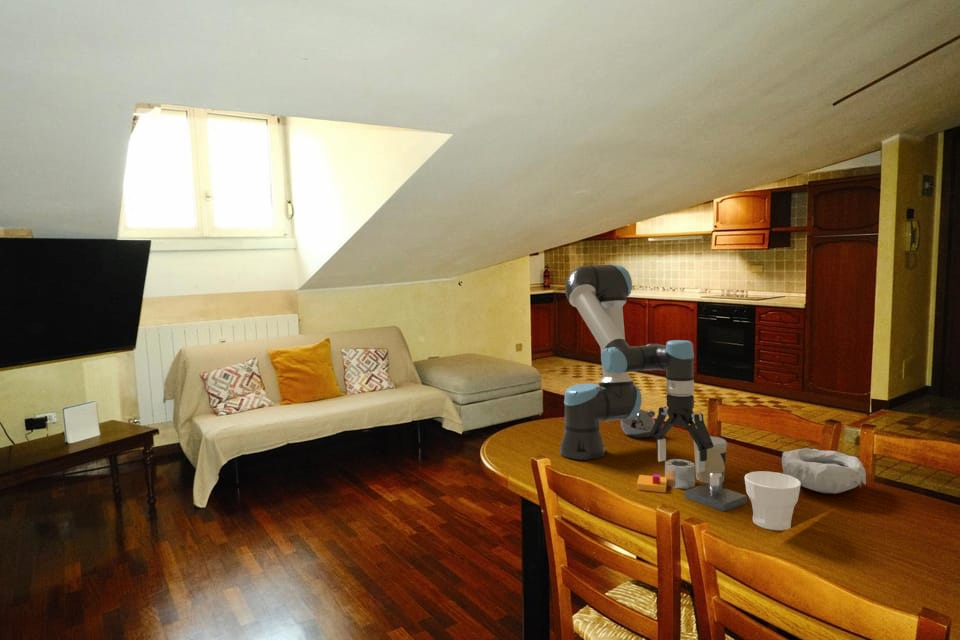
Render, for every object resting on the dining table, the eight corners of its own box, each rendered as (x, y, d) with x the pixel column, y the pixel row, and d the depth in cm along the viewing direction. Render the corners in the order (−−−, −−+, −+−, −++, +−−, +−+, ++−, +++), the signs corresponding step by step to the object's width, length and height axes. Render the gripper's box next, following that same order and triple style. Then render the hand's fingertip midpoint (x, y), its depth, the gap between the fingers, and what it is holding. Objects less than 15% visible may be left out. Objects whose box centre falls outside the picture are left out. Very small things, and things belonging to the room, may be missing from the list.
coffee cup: (729, 485, 173) (730, 444, 172) (695, 484, 175) (696, 443, 174) (723, 475, 182) (723, 436, 181) (691, 473, 184) (691, 435, 183)
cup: (774, 538, 138) (775, 491, 138) (732, 518, 150) (733, 475, 149) (812, 528, 143) (813, 483, 143) (768, 510, 155) (769, 468, 154)
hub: (659, 482, 176) (659, 462, 176) (677, 477, 181) (677, 457, 180) (682, 490, 170) (682, 469, 169) (700, 484, 174) (700, 464, 174)
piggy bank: (642, 446, 213) (642, 415, 212) (612, 437, 225) (612, 407, 225) (664, 441, 218) (664, 410, 218) (634, 432, 231) (634, 403, 230)
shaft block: (684, 497, 164) (684, 471, 164) (707, 490, 170) (707, 464, 169) (723, 511, 154) (724, 483, 154) (746, 502, 160) (746, 475, 159)
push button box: (636, 491, 171) (636, 476, 171) (639, 481, 179) (639, 468, 178) (665, 494, 168) (665, 479, 168) (667, 484, 176) (667, 470, 176)
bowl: (795, 473, 182) (796, 440, 181) (874, 489, 167) (875, 454, 167) (770, 491, 168) (770, 456, 167) (853, 511, 153) (854, 472, 152)
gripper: (637, 389, 181) (638, 458, 183) (709, 401, 161) (710, 479, 162) (654, 387, 186) (655, 454, 187) (726, 398, 165) (726, 474, 166)
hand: (680, 466), depth 174 cm, fingers open, 13 cm apart
